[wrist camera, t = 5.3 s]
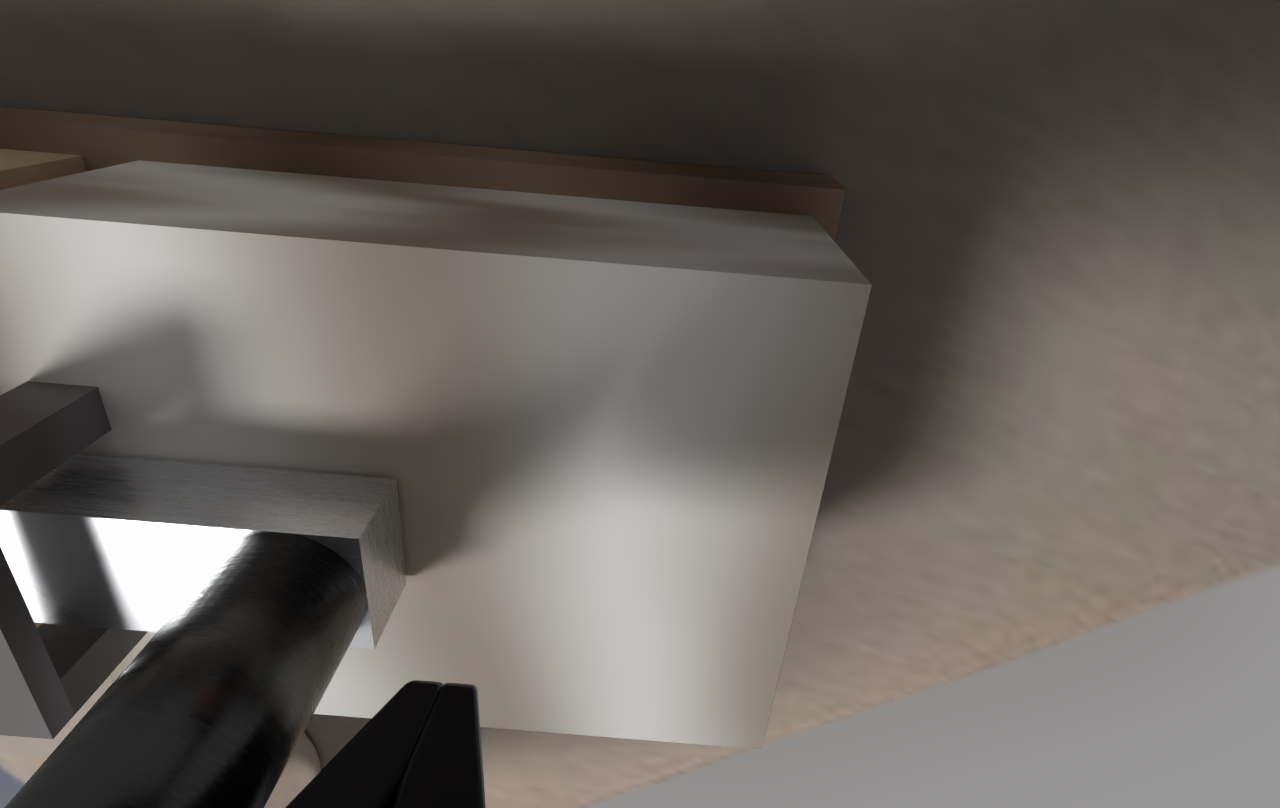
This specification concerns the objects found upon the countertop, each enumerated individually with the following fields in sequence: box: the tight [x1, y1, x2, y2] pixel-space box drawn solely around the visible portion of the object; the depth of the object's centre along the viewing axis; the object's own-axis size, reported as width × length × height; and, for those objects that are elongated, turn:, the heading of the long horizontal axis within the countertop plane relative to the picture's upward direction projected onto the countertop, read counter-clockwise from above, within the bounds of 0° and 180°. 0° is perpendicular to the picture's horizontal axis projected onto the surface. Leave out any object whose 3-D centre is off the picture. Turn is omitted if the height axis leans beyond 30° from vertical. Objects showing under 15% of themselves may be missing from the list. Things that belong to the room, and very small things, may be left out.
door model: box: [0, 107, 872, 749], centre depth 12 cm, size 21×10×8 cm, turn 86°
